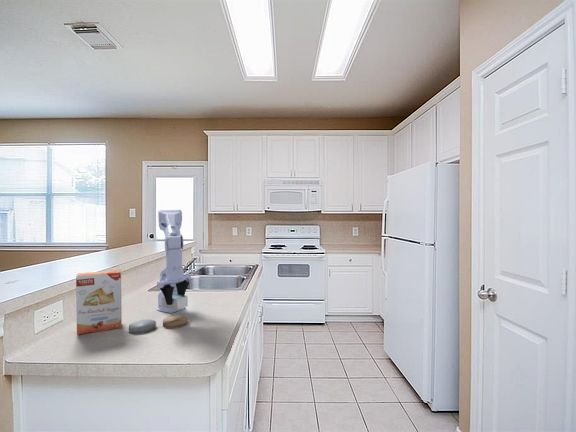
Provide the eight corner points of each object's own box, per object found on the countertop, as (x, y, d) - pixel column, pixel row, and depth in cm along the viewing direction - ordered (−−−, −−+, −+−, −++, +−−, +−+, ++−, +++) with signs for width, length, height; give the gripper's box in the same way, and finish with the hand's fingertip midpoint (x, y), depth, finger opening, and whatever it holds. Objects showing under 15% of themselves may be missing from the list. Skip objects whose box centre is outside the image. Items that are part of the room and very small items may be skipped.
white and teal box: (162, 307, 119) (162, 296, 119) (172, 303, 123) (172, 293, 123) (177, 309, 115) (177, 299, 115) (187, 306, 120) (187, 295, 120)
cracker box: (76, 335, 109) (75, 275, 109) (78, 330, 114) (77, 272, 114) (121, 328, 116) (120, 271, 115) (122, 323, 121) (120, 269, 121)
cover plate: (164, 299, 119) (164, 297, 119) (171, 296, 122) (171, 294, 122) (177, 301, 116) (177, 298, 116) (183, 298, 119) (183, 296, 119)
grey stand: (123, 330, 113) (123, 325, 113) (145, 322, 121) (144, 318, 121) (139, 335, 109) (139, 329, 108) (161, 326, 116) (161, 321, 116)
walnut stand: (157, 325, 117) (157, 321, 117) (176, 318, 125) (176, 313, 125) (174, 329, 113) (174, 324, 113) (192, 321, 121) (192, 317, 121)
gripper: (166, 271, 111) (167, 309, 111) (196, 264, 124) (196, 299, 124) (152, 269, 114) (153, 306, 114) (183, 263, 127) (183, 297, 127)
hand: (175, 302), depth 119 cm, fingers closed on white and teal box, 5 cm apart
